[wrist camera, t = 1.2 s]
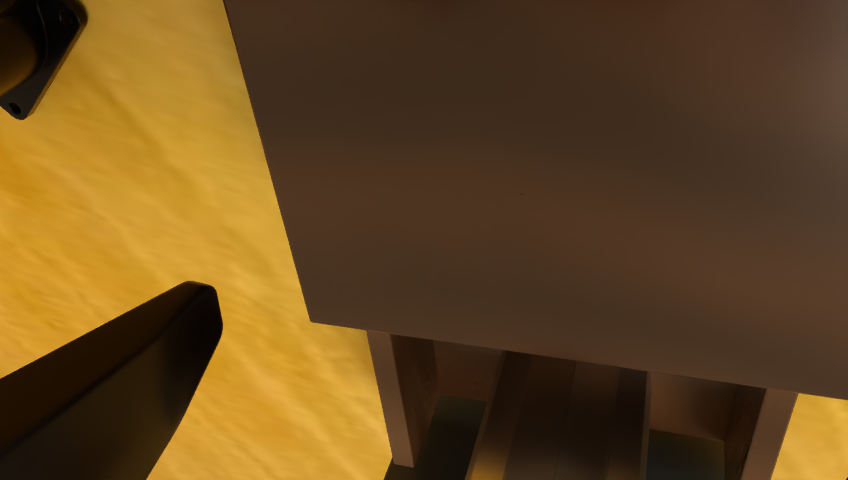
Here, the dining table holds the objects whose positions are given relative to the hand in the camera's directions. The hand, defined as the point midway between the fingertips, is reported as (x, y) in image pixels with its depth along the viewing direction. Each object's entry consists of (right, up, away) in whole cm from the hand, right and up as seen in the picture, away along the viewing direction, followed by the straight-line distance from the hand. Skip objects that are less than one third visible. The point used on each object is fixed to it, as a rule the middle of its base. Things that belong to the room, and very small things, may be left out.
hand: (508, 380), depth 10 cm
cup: (+4, -2, +15) cm, 16 cm away
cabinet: (+4, +8, +10) cm, 13 cm away
